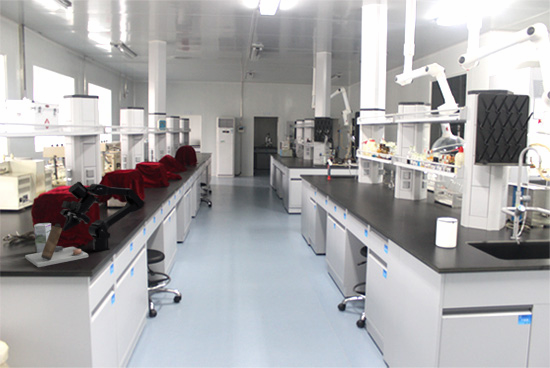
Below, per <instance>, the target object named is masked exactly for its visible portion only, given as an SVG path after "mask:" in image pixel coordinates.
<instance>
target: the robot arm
mask: <svg viewBox="0 0 550 368" xmlns="http://www.w3.org/2000/svg"><path fill="white" fill-rule="evenodd" d="M68 193H70V194H71V195H73V197H75V198H76V199H77V200H79V199H80V200H79V201H78V202H77V201H75V200H71V202H70V201H68V200H67V201H66V200H64V201H63V203H62V205H61V208H64V209H62V210H61V211H60V212H59V213H60V214H61V215H62V216H63V217H65V222H64V225H63V227H62V231H64V232H66V231H68V230H70V229H72V228H74V227H75V226H78V225H80V224H82V223H81V222H82V221H83V223H84V224H87V225H88V224H89V222H90V221H91V218H90V217H89V216H88V215H87V214H86V213H87V212H88V213H89V212H90V211H91V207H92V206H93V205H94V204H95V203H96V204H97V203H98V204H100V198H99V197H98V196H100V197H101V196H106V195H115V196H116V195H117V196H119V195H120V196H124V198H125V201H126V202H125V205H124V206H123V207H121V208H120V209H119V210H117V211H115V212H114V213H112V214H111V215H109V216H108V217H106V218H104V220H101V219H96V220H95V221H94V222H91V223H90V225H89V226H88V230H87V231H88V234H89V235H90V236H91V238H92V239H93V241H92V250H93V251H95V252H98V253H99V252H102V251H103V252H104V251H107V250H110V249H111V248H110V247H109V239H110V238H111V232H108V231H109V229H110V227H112V226H113V225H115V224H116V223H118V222H119V221H121V220H122V219H124V218H125V217H126V216H128V215H129V214H131V213H133V212H137V211H140V210H141V209H143V207H144V204H145V203H144V200H143V199H141V197H140V196H139V195H138V194H137V193H136V192H135V190H134V189H132V188H128V187H126V188H123V187H114V186H113V187H111V186H107V185H104V184H102V183H100V184H99V183H91V184H90V185H89V186H85V185H84V184H83V182H81V181H77V182H75V183H74V184H73V185H70V187H69V188H68ZM96 196H97V197H96Z"/></svg>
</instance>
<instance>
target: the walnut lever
mask: <svg viewBox="0 0 550 368" xmlns="http://www.w3.org/2000/svg"><path fill="white" fill-rule="evenodd" d="M62 231H63V227H61V224H60V223H55V224H54V225H51V231H50V233H49V236H48V239H47V242H46V244H45V247H44V250H43V252H42V256H41V257H42V258H44V259H47V260H51V258H52V256H53V253H54V250H55V248H56V246H58V242H59V239H60V236H61V233H62Z"/></svg>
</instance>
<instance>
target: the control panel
mask: <svg viewBox="0 0 550 368" xmlns="http://www.w3.org/2000/svg"><path fill="white" fill-rule="evenodd" d="M74 249H78V248H77V247H75V246H69V247H63V250H59V251H54V253H53V256H52V258H51V260H47V259H44V258H42V257H41V256H42V252H41V253H31V254H25V255H24V256H25V259H26V260H27V261H28V262H30V263H32V264H33V265H34V266H36V267H37V268H42V267H46V266H51V265H56V264H61V263H65V262H71V261H75V260H76V261H77V260H80V259H85V258H89V254H88V253H87V252H85V251H83V250H81V254H77V255H74V254H73V250H74Z"/></svg>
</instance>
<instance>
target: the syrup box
mask: <svg viewBox="0 0 550 368" xmlns="http://www.w3.org/2000/svg"><path fill="white" fill-rule="evenodd" d="M33 227H34V228H33V229H34V241H35V243H34V244H35V252H36V253H41V252H43V250H44V247H45V244H46V242H47V239H48V236H49V233H50V231H51V228H52V223H50V222H43V223H42V222H41V223H40V222H39V223H36V224H34V225H33Z"/></svg>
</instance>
